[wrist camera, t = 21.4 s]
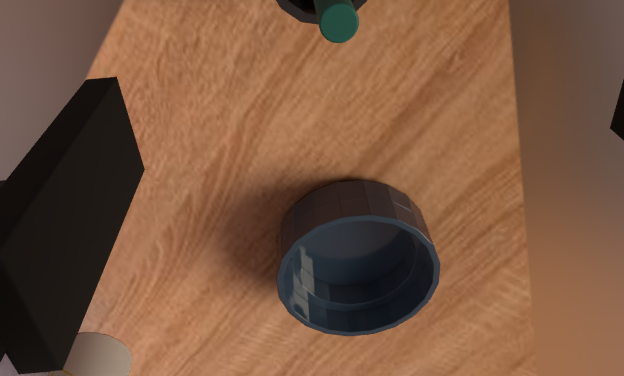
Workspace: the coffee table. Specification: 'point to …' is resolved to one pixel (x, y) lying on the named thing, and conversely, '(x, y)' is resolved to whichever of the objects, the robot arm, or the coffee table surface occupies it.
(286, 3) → the brush pot
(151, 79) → the coffee table surface
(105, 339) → the beige cylinder
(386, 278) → the bowl
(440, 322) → the coffee table surface
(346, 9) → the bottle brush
